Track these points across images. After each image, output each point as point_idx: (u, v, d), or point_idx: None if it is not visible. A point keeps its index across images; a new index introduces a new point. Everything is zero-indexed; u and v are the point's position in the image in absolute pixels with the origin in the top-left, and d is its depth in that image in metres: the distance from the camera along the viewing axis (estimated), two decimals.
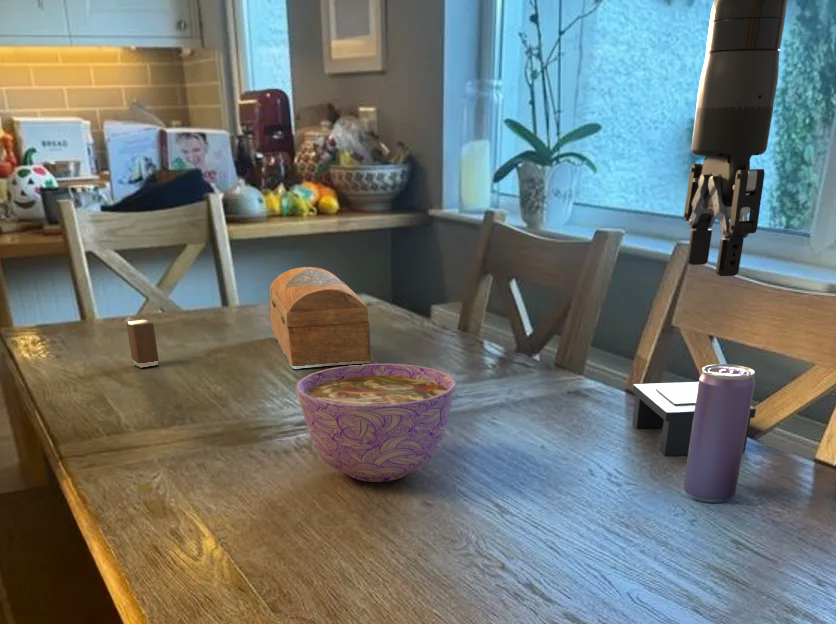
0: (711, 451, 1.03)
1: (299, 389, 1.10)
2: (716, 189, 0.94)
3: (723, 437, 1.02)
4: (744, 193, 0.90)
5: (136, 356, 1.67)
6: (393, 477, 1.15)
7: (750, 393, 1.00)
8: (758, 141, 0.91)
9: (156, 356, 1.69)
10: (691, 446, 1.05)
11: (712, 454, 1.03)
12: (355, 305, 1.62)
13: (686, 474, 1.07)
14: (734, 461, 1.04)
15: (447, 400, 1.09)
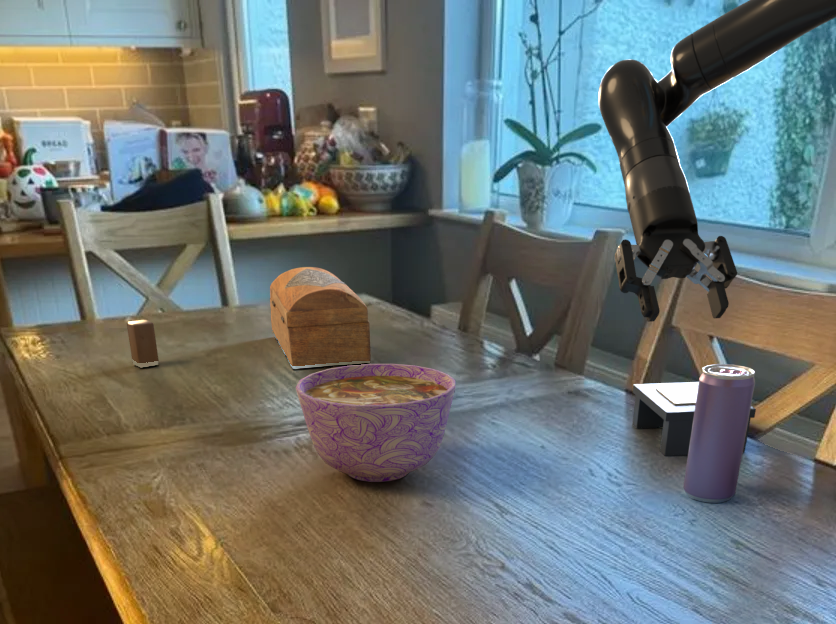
0: (711, 451, 1.03)
1: (299, 389, 1.10)
2: None
3: (723, 437, 1.02)
4: (618, 263, 1.11)
5: (136, 356, 1.67)
6: (393, 477, 1.15)
7: (750, 393, 1.00)
8: (644, 220, 1.11)
9: (156, 356, 1.69)
10: (691, 446, 1.05)
11: (712, 454, 1.03)
12: (355, 305, 1.62)
13: (686, 474, 1.07)
14: (734, 461, 1.04)
15: (447, 400, 1.09)
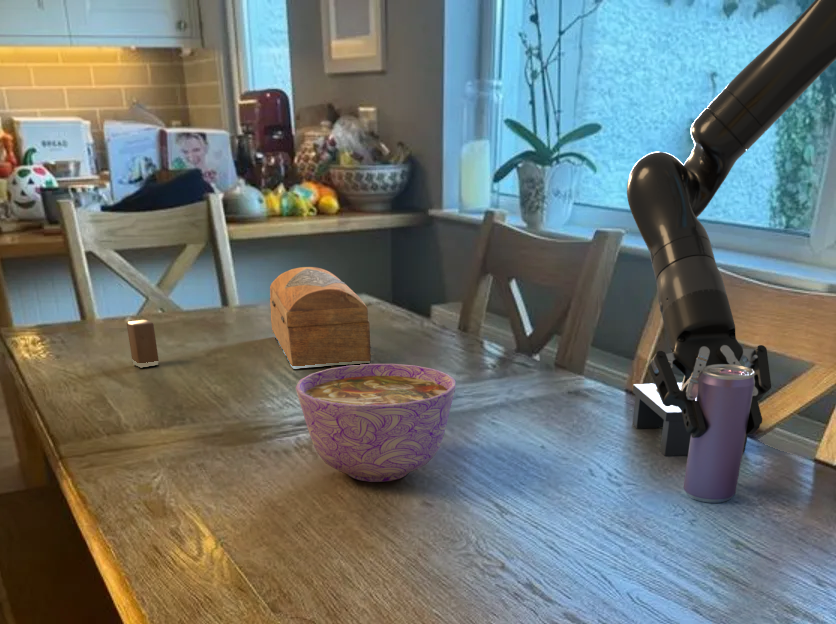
0: (711, 451, 1.03)
1: (299, 389, 1.10)
2: None
3: (723, 437, 1.02)
4: (655, 376, 1.05)
5: (136, 356, 1.67)
6: (393, 477, 1.15)
7: (750, 393, 1.00)
8: (678, 325, 1.05)
9: (156, 356, 1.69)
10: (691, 446, 1.05)
11: (712, 454, 1.03)
12: (355, 305, 1.62)
13: (686, 474, 1.07)
14: (734, 461, 1.04)
15: (447, 400, 1.09)
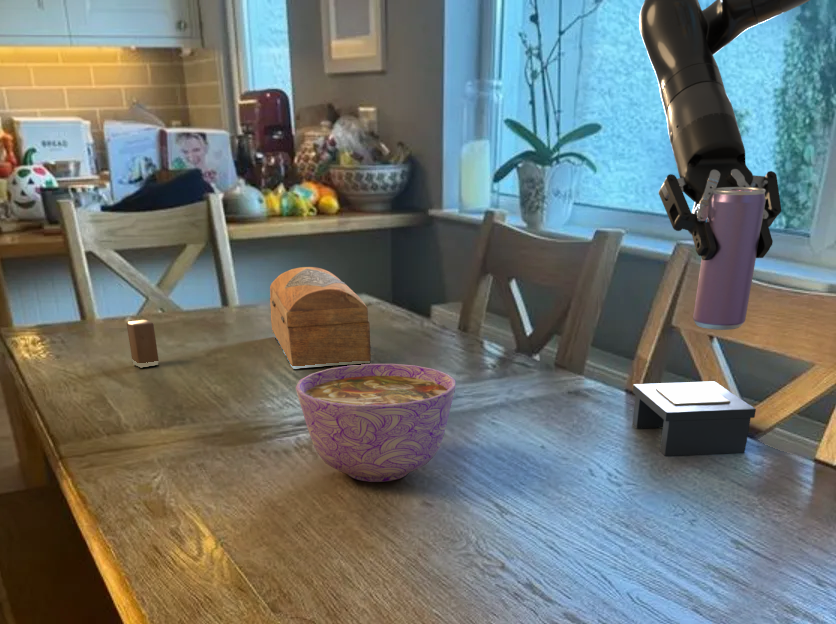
0: (721, 273, 1.04)
1: (299, 389, 1.10)
2: (695, 202, 1.07)
3: (734, 258, 1.02)
4: (665, 201, 1.05)
5: (136, 356, 1.67)
6: (393, 477, 1.15)
7: (761, 210, 1.01)
8: (689, 150, 1.05)
9: (156, 356, 1.69)
10: (701, 272, 1.06)
11: (723, 276, 1.04)
12: (355, 305, 1.62)
13: (696, 303, 1.08)
14: (744, 284, 1.04)
15: (447, 400, 1.09)
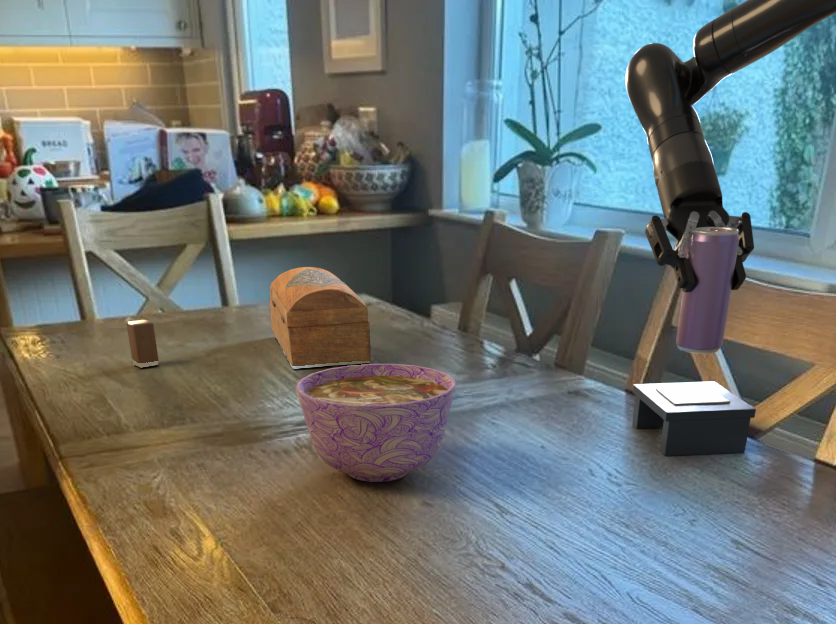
0: (700, 304, 1.16)
1: (299, 389, 1.10)
2: (677, 239, 1.20)
3: (711, 290, 1.15)
4: (650, 239, 1.18)
5: (136, 356, 1.67)
6: (393, 477, 1.15)
7: (734, 249, 1.13)
8: (671, 193, 1.18)
9: (156, 356, 1.69)
10: (683, 302, 1.18)
11: (701, 306, 1.16)
12: (355, 305, 1.62)
13: (678, 329, 1.20)
14: (721, 313, 1.17)
15: (447, 400, 1.09)
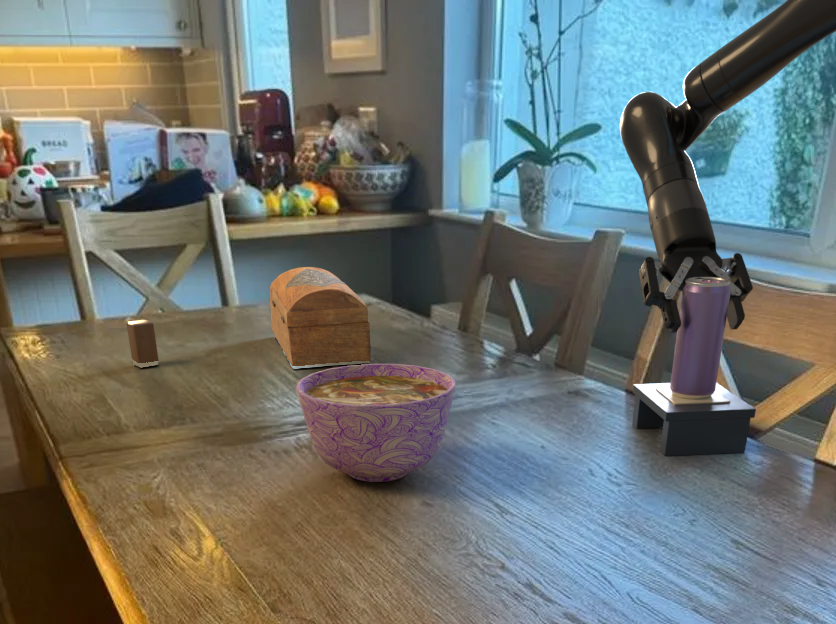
0: (693, 352, 1.19)
1: (299, 389, 1.10)
2: None
3: (703, 339, 1.18)
4: (642, 279, 1.21)
5: (136, 356, 1.67)
6: (393, 477, 1.15)
7: (726, 299, 1.16)
8: (666, 239, 1.20)
9: (156, 356, 1.69)
10: (676, 349, 1.21)
11: (694, 354, 1.19)
12: (355, 305, 1.62)
13: (672, 375, 1.23)
14: (713, 361, 1.20)
15: (447, 400, 1.09)
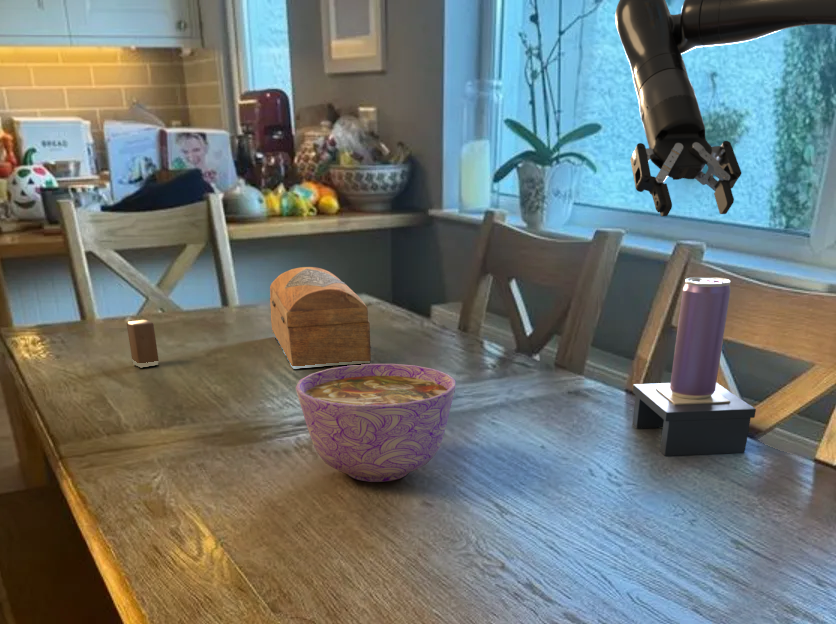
0: (693, 352, 1.19)
1: (299, 389, 1.10)
2: None
3: (703, 339, 1.18)
4: (633, 166, 1.24)
5: (136, 356, 1.67)
6: (393, 477, 1.15)
7: (726, 299, 1.16)
8: (657, 126, 1.23)
9: (156, 356, 1.69)
10: (676, 349, 1.21)
11: (694, 354, 1.19)
12: (355, 305, 1.62)
13: (672, 375, 1.23)
14: (713, 361, 1.20)
15: (447, 400, 1.09)
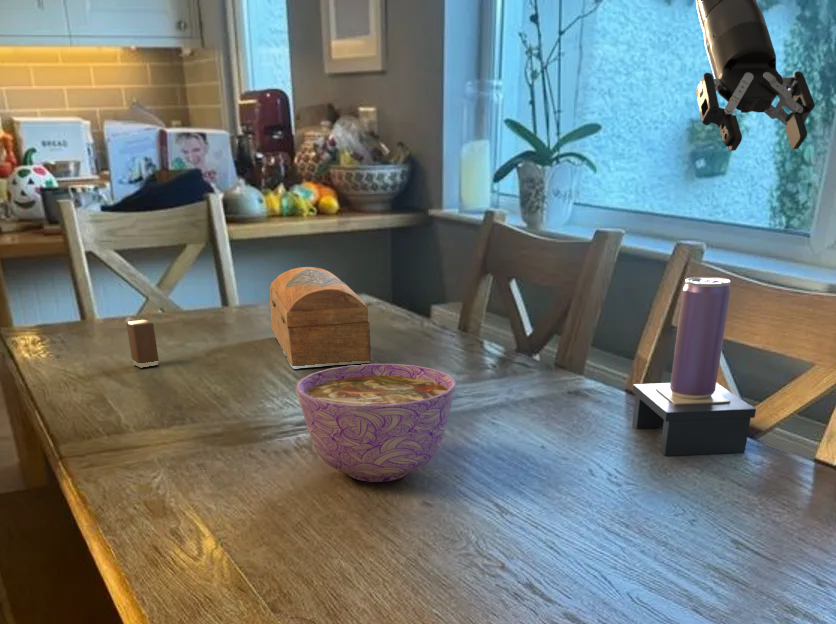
0: (693, 352, 1.19)
1: (299, 389, 1.10)
2: None
3: (703, 339, 1.18)
4: (699, 97, 1.16)
5: (136, 356, 1.67)
6: (393, 477, 1.15)
7: (726, 299, 1.16)
8: (725, 55, 1.16)
9: (156, 356, 1.69)
10: (676, 349, 1.21)
11: (694, 354, 1.19)
12: (355, 305, 1.62)
13: (672, 375, 1.23)
14: (713, 361, 1.20)
15: (447, 400, 1.09)
